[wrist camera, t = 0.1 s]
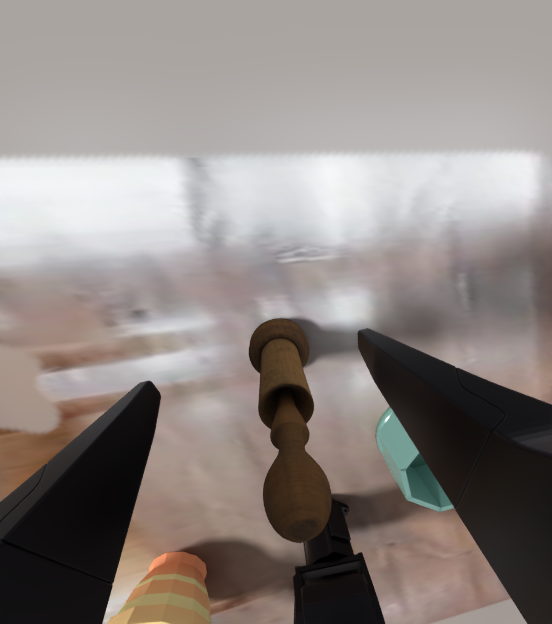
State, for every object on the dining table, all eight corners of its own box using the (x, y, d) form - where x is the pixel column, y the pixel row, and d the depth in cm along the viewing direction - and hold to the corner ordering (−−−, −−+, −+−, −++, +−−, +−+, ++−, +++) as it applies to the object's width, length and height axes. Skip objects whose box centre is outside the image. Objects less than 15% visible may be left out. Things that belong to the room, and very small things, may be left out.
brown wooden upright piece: (289, 307, 25) (344, 436, 7) (315, 353, 26) (410, 546, 9) (239, 335, 25) (181, 515, 8) (267, 378, 27) (270, 604, 10)
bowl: (427, 473, 32) (462, 521, 27) (358, 446, 31) (380, 492, 25) (479, 410, 30) (530, 448, 24) (408, 377, 28) (445, 409, 22)
